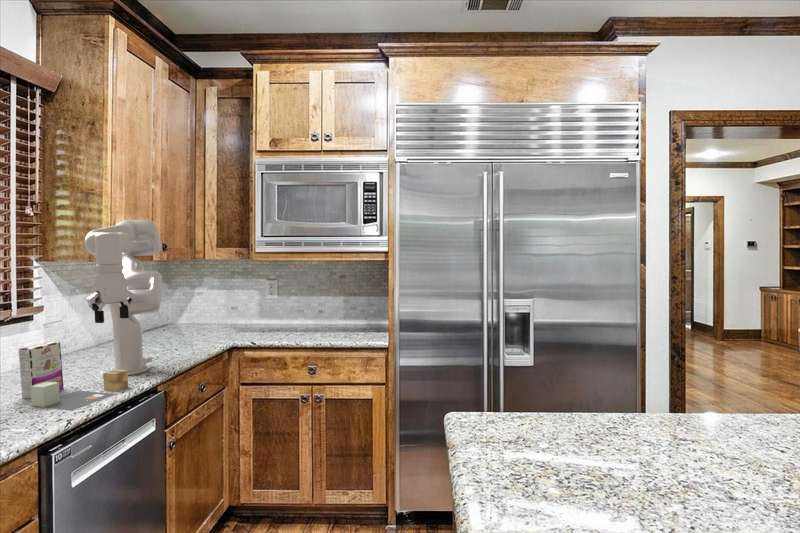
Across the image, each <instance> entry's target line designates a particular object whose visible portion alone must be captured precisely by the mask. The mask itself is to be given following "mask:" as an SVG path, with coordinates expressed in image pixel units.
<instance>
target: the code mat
mask: <svg viewBox="0 0 800 533" xmlns="http://www.w3.org/2000/svg"><path fill="white" fill-rule="evenodd" d="M94 394H95V395H94ZM116 395H118V393H109V392H98V391H97V392H96V391H85V390H74V391H72V392H69V393H65V394H63V395H60V402H57V403H54V404H51V405H48V406H45V407H40V406H32V404H31V405H30V407H33V408H44V409H52V410H61V411H62V410H63V411H74V410H76V409H79V408H82V407H86V406H88V405H91V404H94V403H97V402H100V401H102V400H105V399H108V398H110V397H114V396H116ZM87 400H88V401H87Z"/></svg>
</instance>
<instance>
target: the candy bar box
mask: <svg viewBox="0 0 800 533" xmlns="http://www.w3.org/2000/svg"><path fill="white" fill-rule="evenodd" d="M61 349H62V347H61V341H46V342H41V343H38V344H34V345H29V346H25V347H21V348H18V358H19V370H20V384H21V386H20V387H21V395H22V399H31V386H33V385H37V384H40V383H44V382H57V383H59V391H60V390H63V389H64V378H63V377H64V376H63V375H64V374H63V364H62V350H61Z"/></svg>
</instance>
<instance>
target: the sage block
mask: <svg viewBox="0 0 800 533" xmlns="http://www.w3.org/2000/svg"><path fill="white" fill-rule="evenodd" d="M60 393H61V392H60V390H59V383H57V382H44V383H40V384H37V385H33V386H31V398H30V399H31V405H32V406H40V407H39V408H42V407H45V406H48V405H51V404H54V403H57V402H60V396H61V395H60ZM32 406H31V407H32Z"/></svg>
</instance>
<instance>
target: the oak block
mask: <svg viewBox="0 0 800 533" xmlns="http://www.w3.org/2000/svg"><path fill="white" fill-rule="evenodd" d="M102 375H103V376H102V377H103V391H110V392H117V391H120V390H123V389H126V388H129V375H128V371H127V370H118V369H116V370H113V369H112V371H111V370H109V371H106V372H103V374H102Z"/></svg>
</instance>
